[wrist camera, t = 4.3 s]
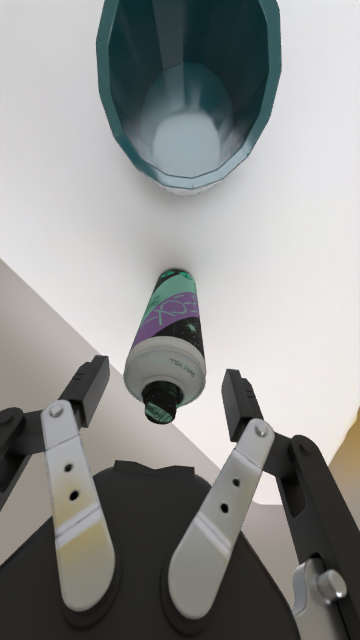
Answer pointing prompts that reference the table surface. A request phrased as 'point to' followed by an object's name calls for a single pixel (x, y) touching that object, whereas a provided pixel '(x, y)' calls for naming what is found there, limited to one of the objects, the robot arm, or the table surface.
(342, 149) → the table surface
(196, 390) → the spray can
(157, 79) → the crock
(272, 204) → the table surface
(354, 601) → the robot arm
